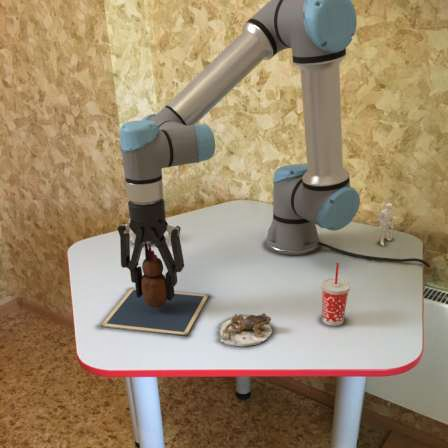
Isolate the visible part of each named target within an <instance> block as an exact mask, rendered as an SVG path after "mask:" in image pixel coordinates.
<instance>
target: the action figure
mask: <svg viewBox="0 0 448 448" xmlns="http://www.w3.org/2000/svg"><path fill="white" fill-rule="evenodd" d="M392 209H393V204H392V203H390V202H388V203H386V204H385V208H384V209H382V210H381V211H380V212H379V214H378V215H377V218H376V220H377V222H379V226H377V228H378V230H379V231H380V234H379V241H380V242H379V244H380V246H383V247H384V246H385V243H384V241H385V239H386V240H387V241H389V242H390V241H392V239H393V233H394V227H395V221H396V220H398V217H396V216H393V215H392ZM391 219H392V222H391ZM390 228H391V233H390V237H389V229H390Z"/></svg>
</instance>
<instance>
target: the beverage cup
mask: <svg viewBox="0 0 448 448" xmlns="http://www.w3.org/2000/svg"><path fill="white" fill-rule="evenodd" d="M335 264H336V265H335V276H334V277H330V278H327V279H324V280H322V281H321V285H320V287H321V290H322V291H321V292H322V293H321V295H322V297H321V298H322V300H321V301H322V302H321V303H322V305H321V308H322V309H321V311H322V312H321V314H322V315H321V317H322V319H321V320H322V322H323V324H325V325H326V326H330V327H331V326H332V327H337V326H340V325H342V324H343V323H344V320H345V314H346V307H347V303H348V302H347V301H348V295H349V292H350V291H351V283H350V282H349V281H347V280H346V279H342V278H339V277H338V275H339V264H340V262H336V263H335Z"/></svg>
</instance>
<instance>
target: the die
mask: <svg viewBox="0 0 448 448" xmlns="http://www.w3.org/2000/svg"><path fill="white" fill-rule="evenodd" d="M129 222H130V219H129V220H128V223H129ZM129 233H130V241H131V242H132V243H133V244H134V243H135V239H136V235H135V234H134V233H133V231H132V230H131V229H130V232H129ZM146 243H147V245H150V244H152V243H151V242H146ZM143 246H145V243H143Z"/></svg>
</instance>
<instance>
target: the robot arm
mask: <svg viewBox="0 0 448 448" xmlns="http://www.w3.org/2000/svg"><path fill="white" fill-rule="evenodd" d="M357 21H358V18H357V13H356V8H355V5H354V4H353V1H352V0H269V1H268V2H267V3H266V4H265V5H263V6H262V7H261V8H259V10H258V11H256V12H255V13H254V14H253V15H252V16H251V17H250V18H249V19H248V20H247V21H246V22H245V23H244V24H243V25H242V28H241V29H242V30H241V33H240V34H239V35H238V36H237V37H236V38H235V39H234V40H232V42H231V43H230V44H228V46H227V47H226V48H225V49H224V50H222V51H221V52H220V53H219V54H218V55H217V56H216V57H215V58H214V59H213V60H211V62H210V63H209V64H208V65H207V66H206V67H205V68H203V69H202V70H201V71H200V73H199V74H197V75H196V76H195V77H194V78H193V79H192V80H191V81H190V82H189V83H188V84H187V85H185V87H184V88H183V89H182V90H180V91H179V92H178V93H177V94H176V95H175V96H174V97H173V99H171V100H170V101H169V102H168V103H167V104H166V105H165V106H164V107H163V108H161V110H159V111H158V112H157V113H153V114H148V115H145V116H144V117H143V118H142V119H141V120H131V121H127V122H125V123H122V125H121V126H120V128H119V129H120V130H119V139H120V140H119V141H120V151H121V156H122V164H123V171H124V179H125V190H126V191H125V192H126V199H127V200H128V202H127V207H128V216H129V220H130V222H129V221H128V222H124V221H123V222H122V223H120V224H119V225H118V226H117V228H116V229H117V232H118V236H119V245H120V246H119V247H120V248H119V249H120V267H121V268H122V269H123V268H124V269H128V270H129V272H130V273H129V274H130V281H131V283H132V284H133V283H134V285H135V288H136V294H137V297H139V298H140V297H141V296H142V289H141V279H142V276H143V269H142V266H140V263H139V262H140V257H141V254H142V251H143V246H144V245H143V243H144V242H151V243H150V244H154V246H155V247H156V248H157V250H158V252H159V255H160V257H161V259H162V262H163V263H164V266H165V268H166V270H167V272H166V273H165V274H164V276H165V278H166V287H167V298H168V300H170V301H171V300H172V298H173V297H174V295H175V294H174V292H175V287H176V285H177V283H178V273H181V272H182V271H183V269H184V268H185V261H184V255H183V248H182V243H181V239H180V238H181V237H180V234H181V230H182V229H181V227H180V226H179V225H176V226H173V225H169V223H168V222H167V220H166V208H165V207H166V205H165V200H164V199H163V198H164V184H163V183H164V182H163V171H162V169H166V168H171V167H178V166H183V165H191V164H200V163H202V162H205V161H209V160H210V159H212V158H213V157H214V155H215V152H216V139H215V134H214V132H213V130H212V128H211V127H210V126H209V125H208V124H205V123H199V122H200V121H201V120H202V119H203V118H204V117H205V116H206V115H207V114H208V113H209V112H210V111H212V109H214V108H215V106H217V105H218V104H219V103H220V102H221V101H222V100H223V99H224V98H225V97H226V96H228V94H229V93H230V92H231V91H232V90H234V89H235V87H237V86H238V84H240V83H241V82H242V81H243V80H244V79H245V78H246V77H247V76H248V75H249V74H250V73H251V72H253V70H254V69H256V68H257V66H258V65H259V64H261V63H262V62H263V61H270V60H271V59H272V58H274V57H275V55H277V54H278V53H280V52H282V51H284V50H287V49H291V56H292V64H293V65H294V66H296V67H297V68H298V69H299V71H300V83H301V95H302V96H301V97H302V111H303V112H302V113H303V124H304V138H305V139H304V140H305V151H306V152H305V153H306V163H296V164H287V165H283V166H279V167H278V168H276V169H275V171H274V173H273V180H272V185H273V187H272V191H273V193H272V195H273V197H272V199H273V201H272V221H271V224H270V227H269V228H268V230H267V235H266V239H265V244H266V246H265V247H266V248H267V249H268V250H270V251H272V252H274V253H276V254H279V255H285V256H302V255H308V254H311V253H314V252H316V251H317V250H318V249H319V247H324V248H327V249H330V250H332V251H334V252H338V253H341V254H344V255H348V256H351V257H356V258H360V259H366V260H367V259H368V260H374V261H375V260H376V261H386V262H394V263H395V262H396V263H405V262H407V263H408V262H416V263H421V264H423V265H425V266H426V267H427V268H431V265H430V264H429V263H428V262H427V261H426V260H424V259H421V258H416V257H412V258H391V257H383V256H382V257H380V256H374V255H373V256H372V255H365V254H360V253H356V252H351V251H347V250H343V249H340V248H337V247H334V246H331V245H329V244H326V243H323V242H321V241H320V237H319V232H318V229H317V226H318V227H319V228H321V229H326V230H329V231H333V232H334V231H339V230H342V229H344V228H345V227H347V226H348V225H350V223H351V222H352V221H353V219H354V218H355V217H356V215H357V213H358V211H359V208H360V204H361V196H360V193H359V192H358V191H357V190H356V188H354V187H353V186H352V187H351V181H350V180H351V179H350V178H351V177H350V176H351V175H350V171H349V170H348V169H347V168H345V167H344V162H343V161H344V160H343V159H344V157H343V133H342V132H343V131H342V105H341V103H342V102H341V76H340V75H341V73H340V64H341V63H342V62H343V61H344V59H345V58H346V56H347V48H348V47H349V46H350V44H352V43H351V42H353V37H354V36H355V35H356V31H357V23H358V22H357ZM198 123H199V124H198ZM316 225H317V226H316ZM130 229H131V230H132V231H133V233H134V234H135V235H136V239H135V243H133V244H134V245H133V248H132V249H133V250H132V253H131V239H130V233H129V232H130ZM166 232H167V234H168V237H169V238H170V247H171V250H170V248H169V245H168V243H167V238H166V236H165V233H166ZM171 251H172V252H171ZM131 254H132V255H131Z"/></svg>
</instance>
